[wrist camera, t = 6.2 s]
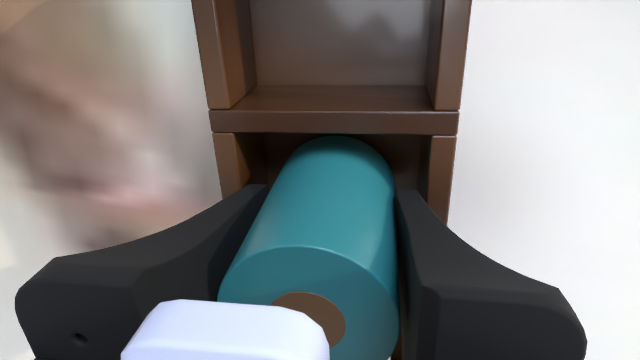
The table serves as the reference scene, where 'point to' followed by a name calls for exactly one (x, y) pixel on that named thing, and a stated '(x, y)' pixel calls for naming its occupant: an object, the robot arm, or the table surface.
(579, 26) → the table surface
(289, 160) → the paper roll
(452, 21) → the rack
